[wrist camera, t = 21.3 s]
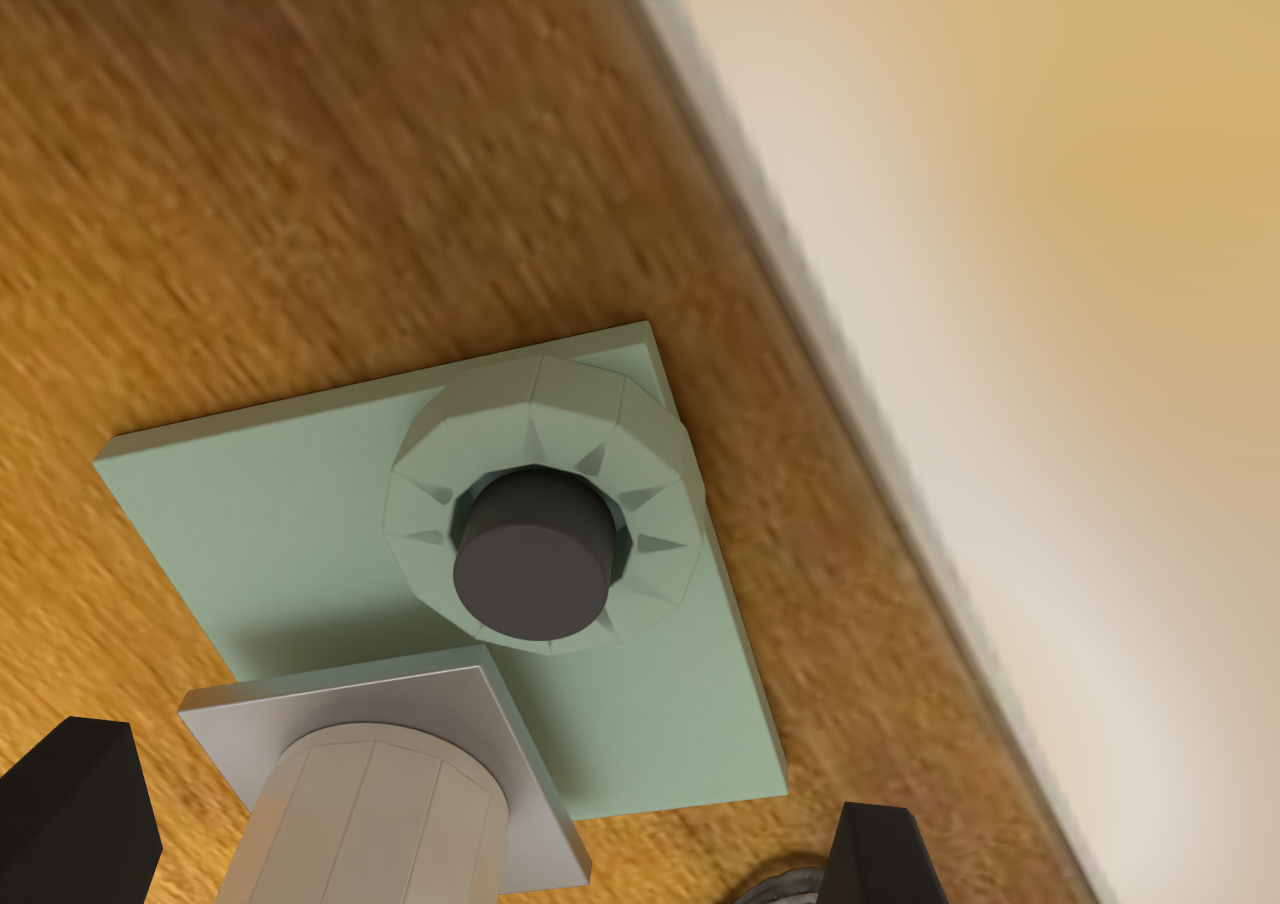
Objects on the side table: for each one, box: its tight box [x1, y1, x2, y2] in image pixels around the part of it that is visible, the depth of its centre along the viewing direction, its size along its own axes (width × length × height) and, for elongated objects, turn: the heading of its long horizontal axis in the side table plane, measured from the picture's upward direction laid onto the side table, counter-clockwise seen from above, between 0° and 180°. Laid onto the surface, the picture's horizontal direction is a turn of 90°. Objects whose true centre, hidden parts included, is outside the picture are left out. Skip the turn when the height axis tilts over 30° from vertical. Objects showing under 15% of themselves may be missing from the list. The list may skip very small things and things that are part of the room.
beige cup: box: [214, 723, 509, 904], centre depth 22 cm, size 5×5×4 cm
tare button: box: [453, 469, 616, 641], centre depth 19 cm, size 3×3×2 cm
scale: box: [92, 321, 789, 821], centre depth 23 cm, size 12×11×2 cm
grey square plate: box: [177, 643, 592, 895], centre depth 23 cm, size 7×6×1 cm
